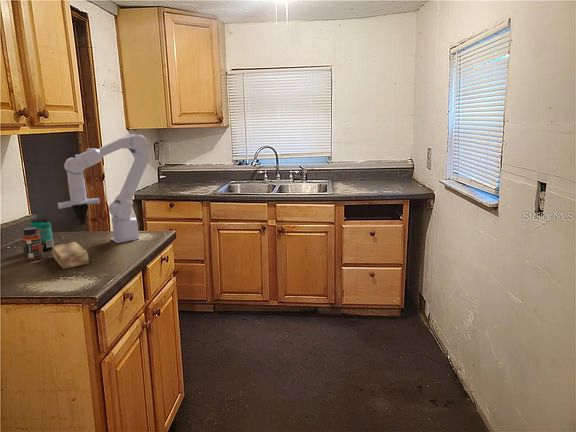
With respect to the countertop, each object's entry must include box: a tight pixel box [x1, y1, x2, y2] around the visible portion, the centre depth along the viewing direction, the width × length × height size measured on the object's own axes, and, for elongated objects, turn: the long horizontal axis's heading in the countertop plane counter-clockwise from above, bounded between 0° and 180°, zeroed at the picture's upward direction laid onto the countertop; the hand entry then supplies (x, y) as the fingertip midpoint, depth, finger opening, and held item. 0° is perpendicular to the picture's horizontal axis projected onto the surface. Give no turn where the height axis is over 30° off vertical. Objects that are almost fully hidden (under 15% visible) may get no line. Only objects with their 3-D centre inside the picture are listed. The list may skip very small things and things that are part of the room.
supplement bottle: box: [21, 226, 44, 261], centre depth 158 cm, size 6×6×11 cm
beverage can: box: [29, 217, 55, 252], centre depth 168 cm, size 7×7×12 cm
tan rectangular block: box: [51, 241, 89, 270], centre depth 155 cm, size 8×16×4 cm, turn 39°
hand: (82, 223), depth 169 cm, fingers closed
